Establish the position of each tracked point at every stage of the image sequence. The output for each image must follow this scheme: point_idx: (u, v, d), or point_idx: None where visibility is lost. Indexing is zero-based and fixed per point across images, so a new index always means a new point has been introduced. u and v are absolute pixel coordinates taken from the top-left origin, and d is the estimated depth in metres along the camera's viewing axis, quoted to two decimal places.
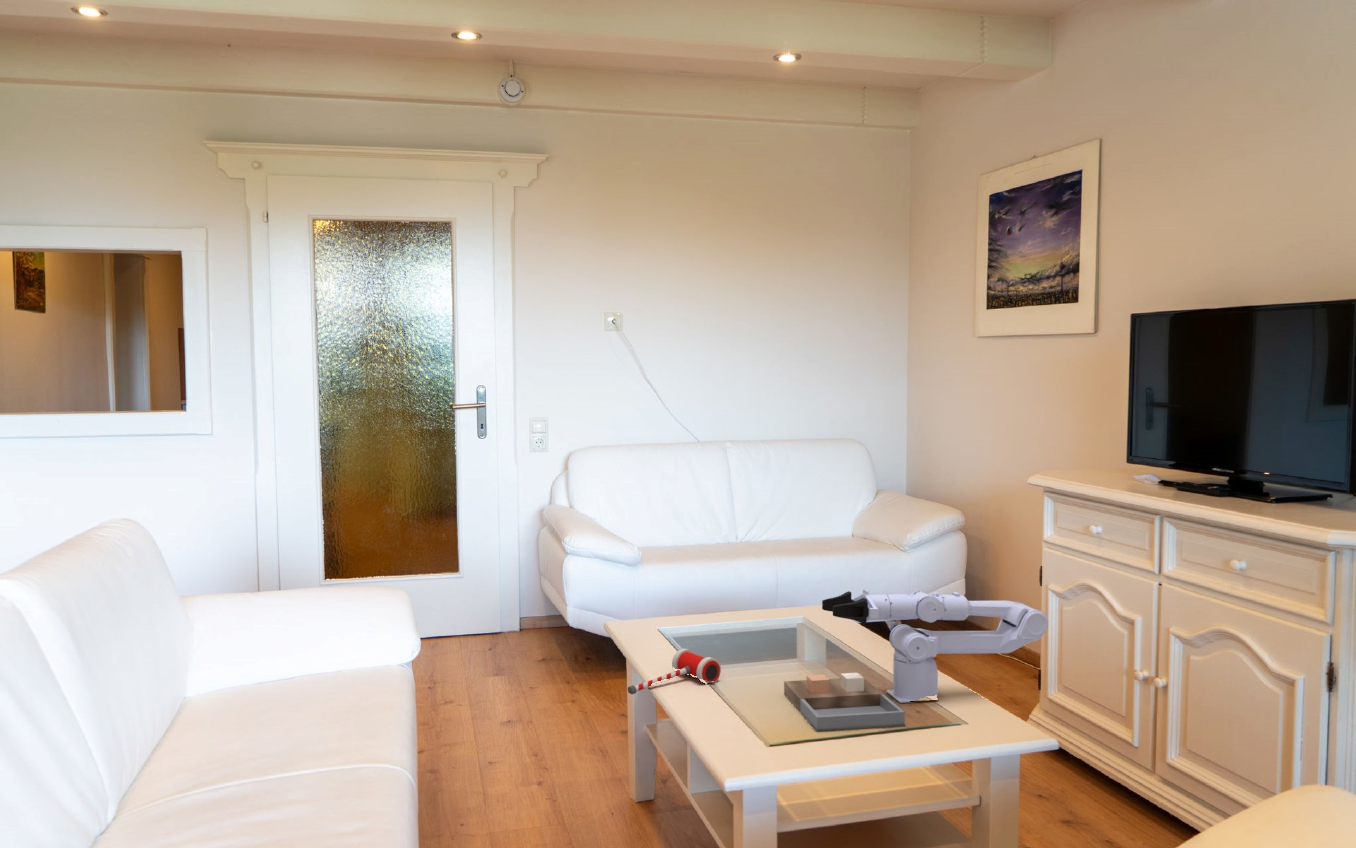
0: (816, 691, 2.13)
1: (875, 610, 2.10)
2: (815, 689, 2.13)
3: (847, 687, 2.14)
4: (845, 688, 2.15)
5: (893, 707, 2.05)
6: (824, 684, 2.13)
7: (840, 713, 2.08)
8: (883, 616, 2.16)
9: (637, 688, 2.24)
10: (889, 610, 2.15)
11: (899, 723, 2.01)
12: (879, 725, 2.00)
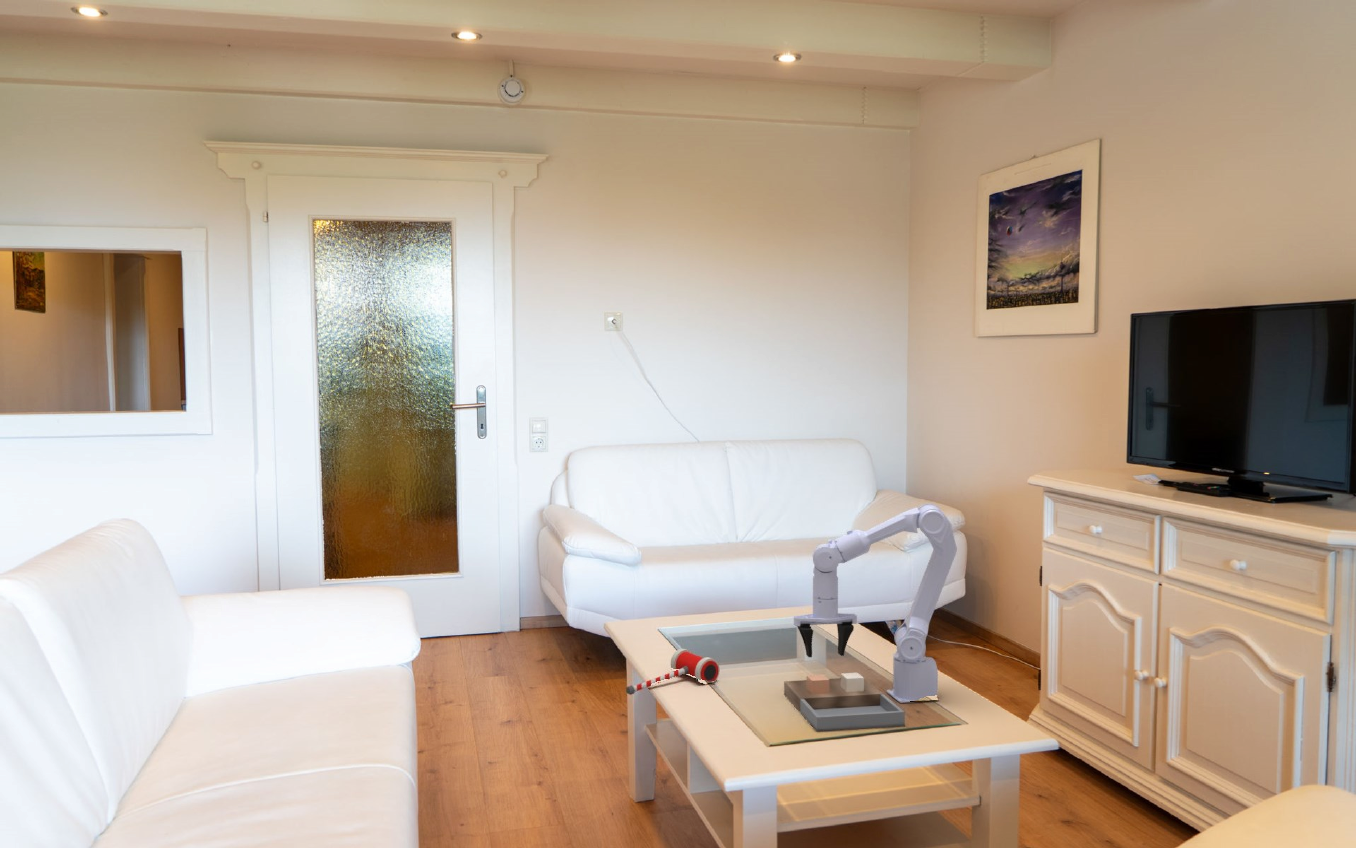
0: (816, 691, 2.13)
1: (794, 619, 2.22)
2: (815, 689, 2.13)
3: (847, 687, 2.14)
4: (845, 688, 2.15)
5: (893, 707, 2.05)
6: (824, 684, 2.13)
7: (840, 713, 2.08)
8: (818, 604, 2.20)
9: (635, 688, 2.23)
10: (814, 598, 2.21)
11: (899, 723, 2.01)
12: (879, 725, 2.00)
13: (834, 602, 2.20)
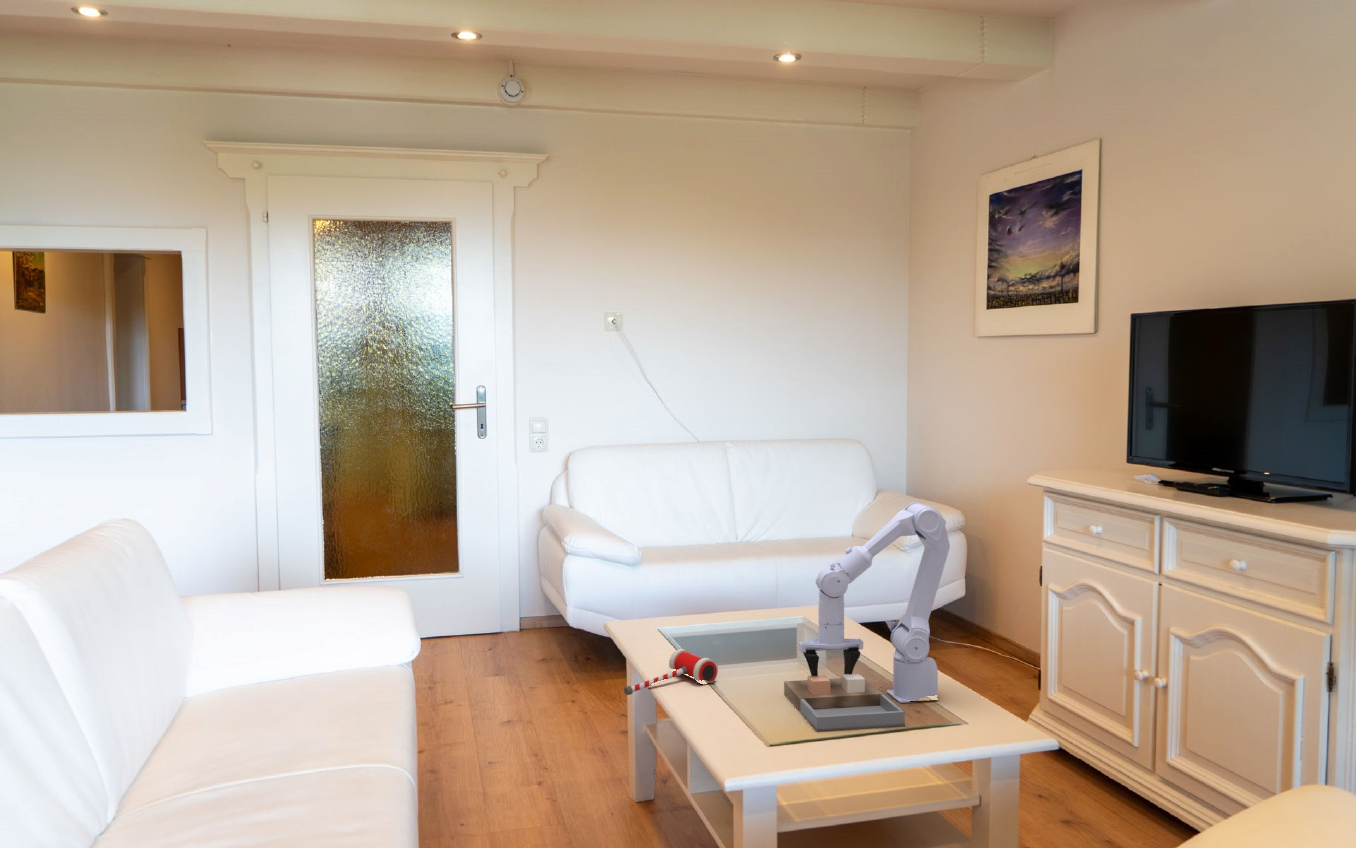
0: (817, 692, 2.12)
1: (799, 645, 2.18)
2: (816, 690, 2.12)
3: (847, 688, 2.13)
4: (846, 689, 2.14)
5: (893, 707, 2.05)
6: (825, 685, 2.12)
7: (840, 713, 2.08)
8: (823, 630, 2.16)
9: (633, 689, 2.23)
10: (819, 623, 2.17)
11: (899, 723, 2.01)
12: (879, 725, 2.00)
13: (840, 628, 2.16)
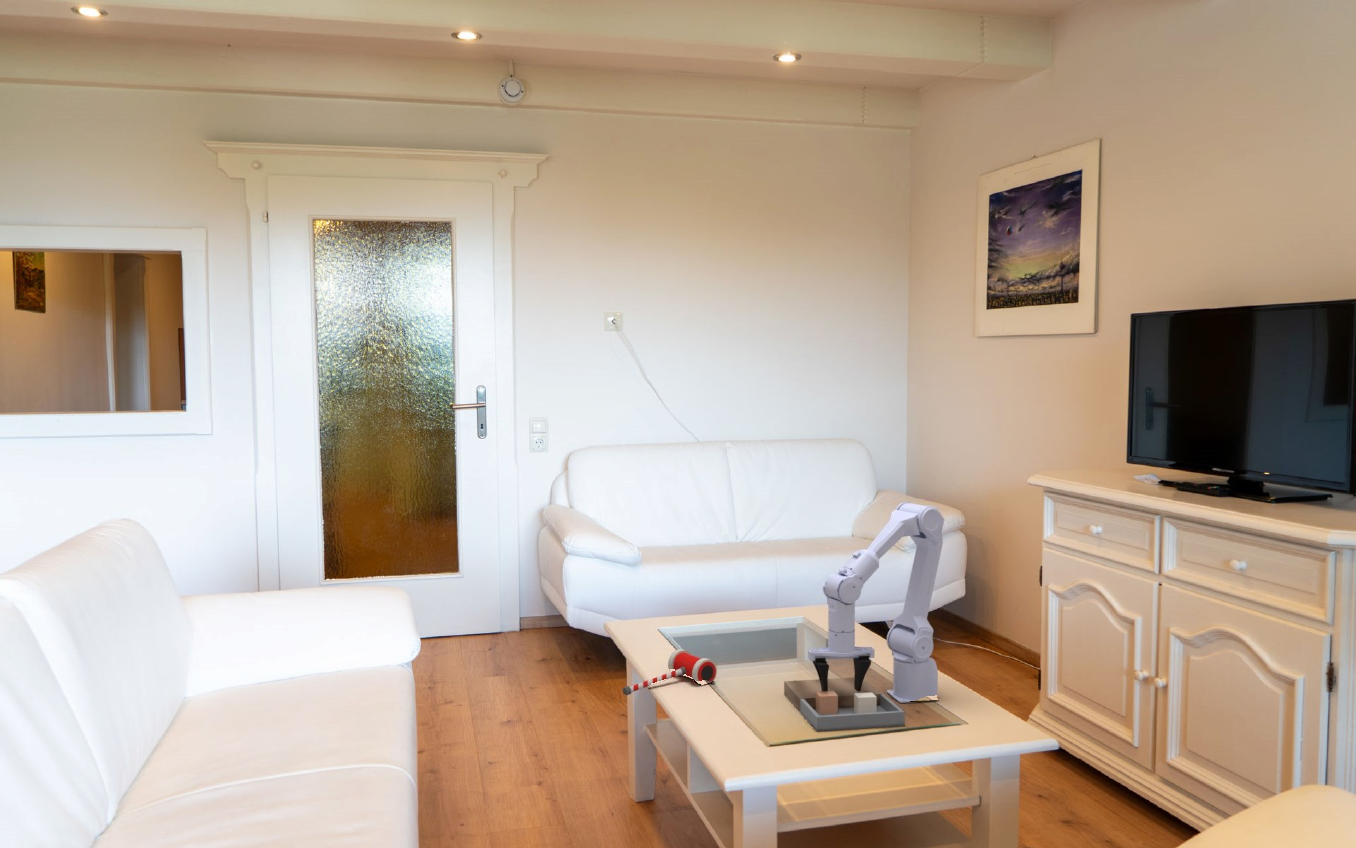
0: None
1: (808, 653, 2.11)
2: None
3: None
4: (854, 708, 2.08)
5: (893, 707, 2.05)
6: None
7: (840, 713, 2.08)
8: (833, 638, 2.09)
9: (632, 689, 2.23)
10: (829, 631, 2.10)
11: (899, 723, 2.01)
12: (879, 725, 2.00)
13: (851, 635, 2.09)
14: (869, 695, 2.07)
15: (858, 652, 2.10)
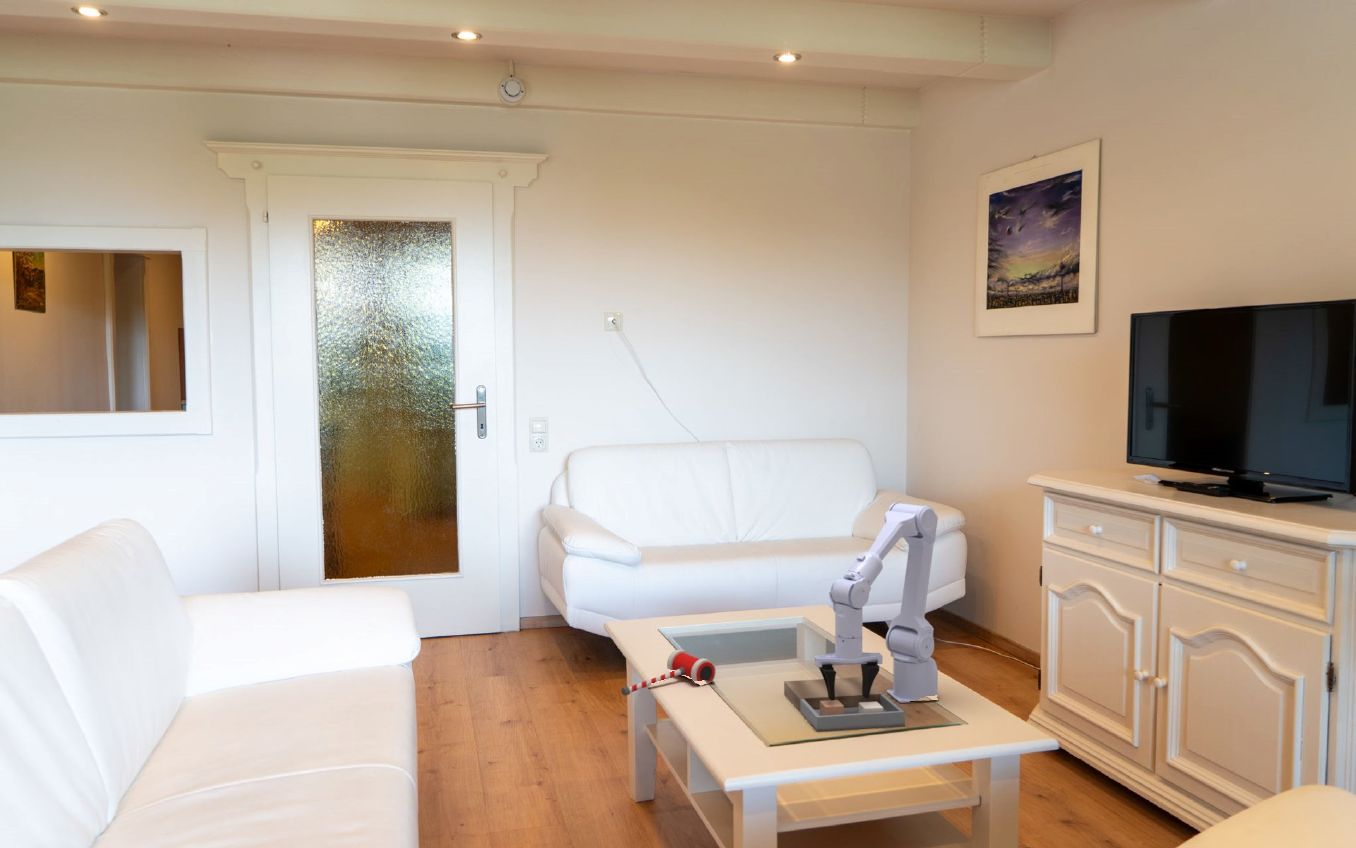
0: None
1: (815, 660, 2.06)
2: None
3: None
4: (859, 706, 2.05)
5: (893, 707, 2.05)
6: None
7: None
8: (841, 644, 2.05)
9: (631, 689, 2.23)
10: (836, 637, 2.06)
11: (899, 723, 2.01)
12: (879, 725, 2.00)
13: (858, 641, 2.04)
14: None
15: (866, 658, 2.05)
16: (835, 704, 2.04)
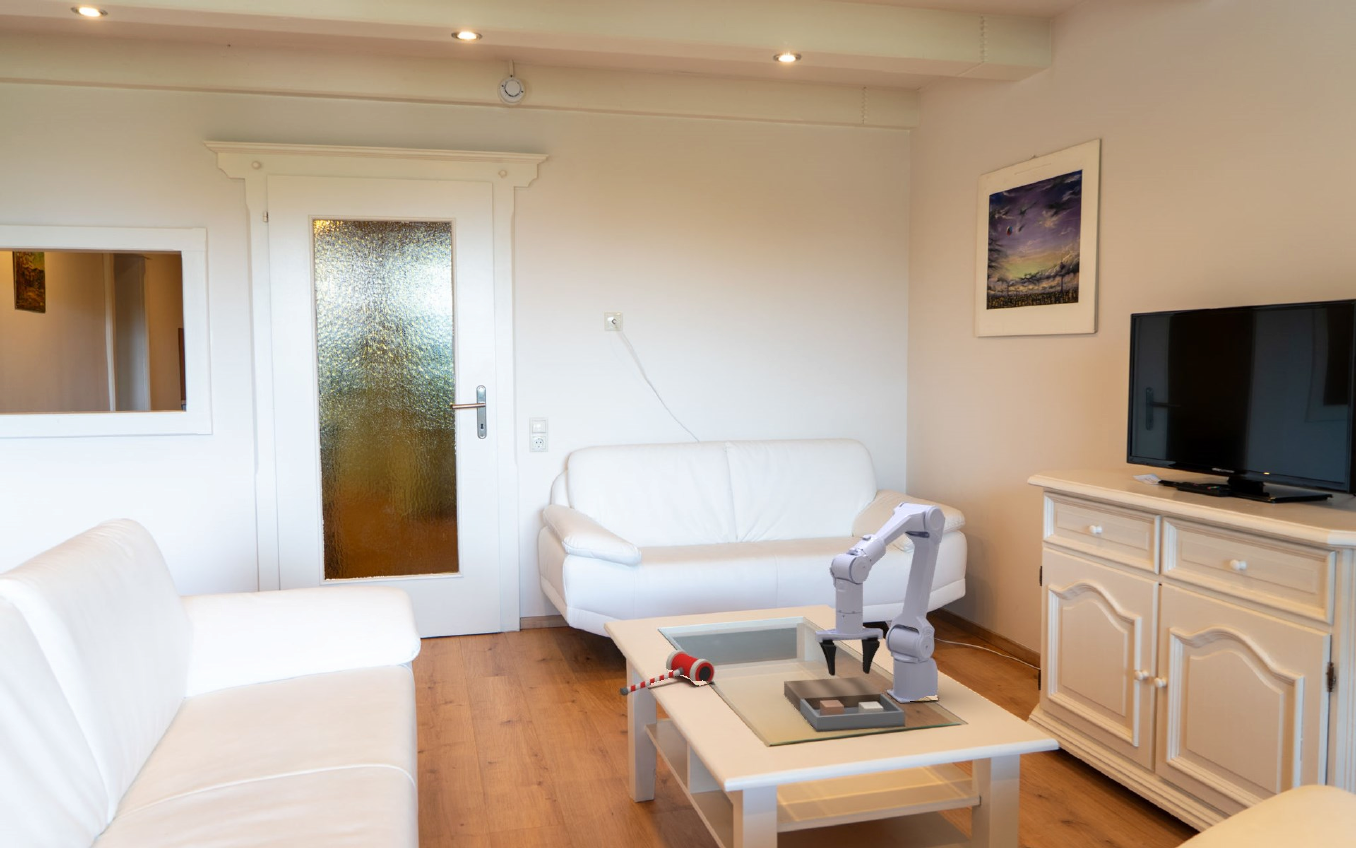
0: None
1: (815, 635, 2.06)
2: None
3: None
4: (859, 706, 2.05)
5: (893, 707, 2.05)
6: None
7: None
8: (841, 619, 2.04)
9: (629, 689, 2.23)
10: (837, 612, 2.05)
11: (899, 723, 2.01)
12: (879, 725, 2.00)
13: (859, 616, 2.04)
14: None
15: (866, 633, 2.05)
16: (835, 704, 2.04)
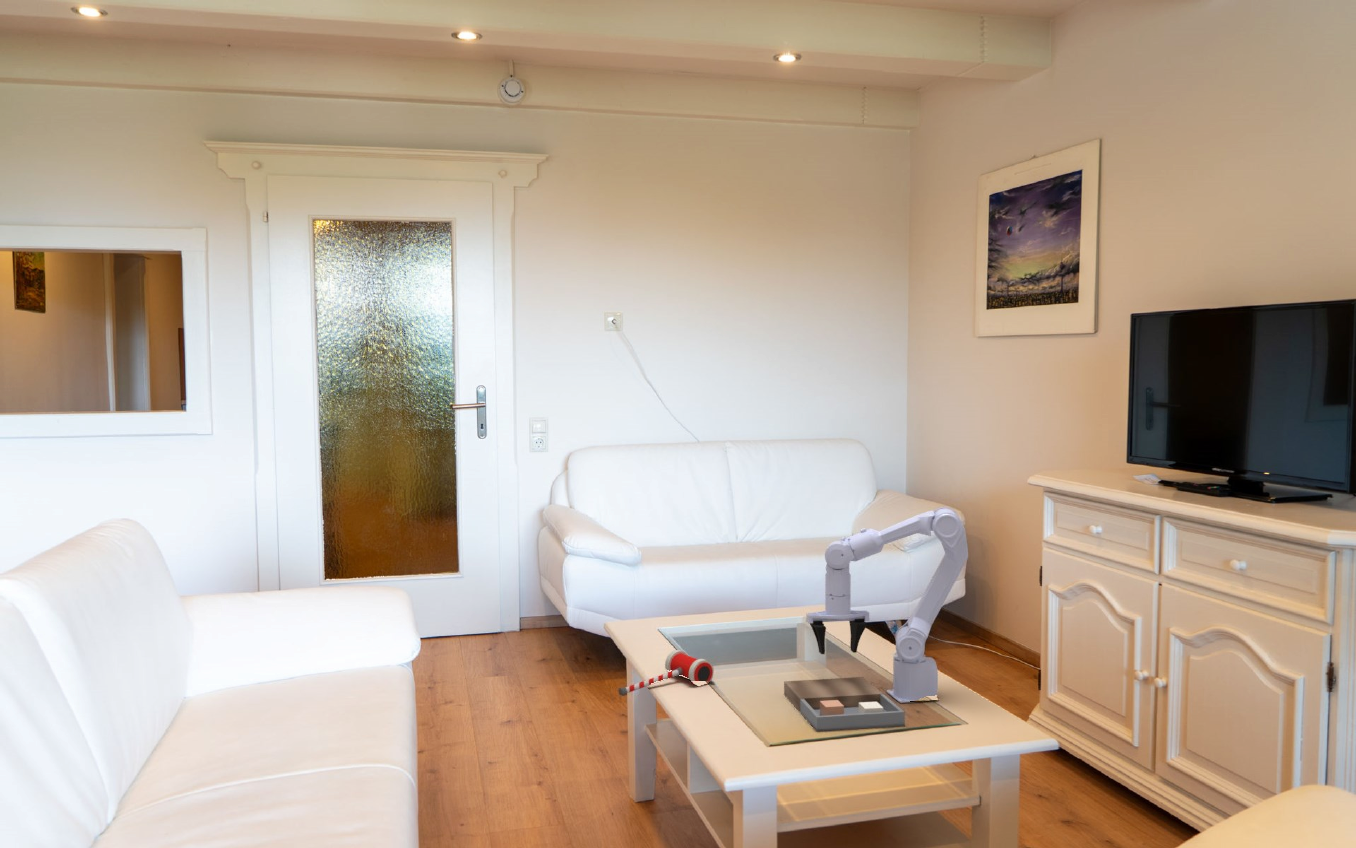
0: None
1: (806, 616, 2.22)
2: None
3: None
4: (859, 706, 2.05)
5: (893, 707, 2.05)
6: None
7: None
8: (830, 602, 2.20)
9: (628, 689, 2.23)
10: (826, 595, 2.22)
11: (899, 723, 2.01)
12: (879, 725, 2.00)
13: (847, 599, 2.20)
14: None
15: (854, 615, 2.21)
16: (835, 704, 2.04)
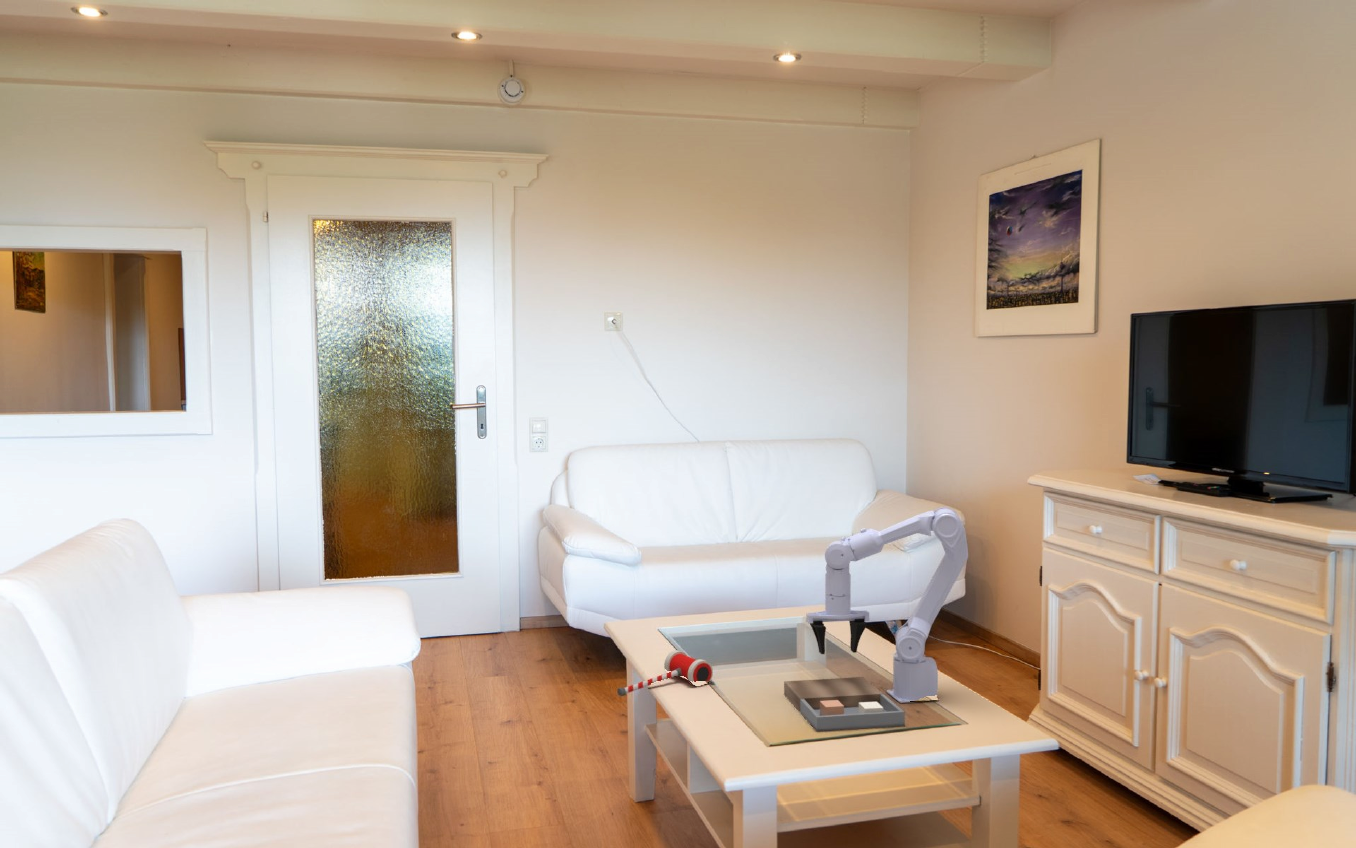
0: None
1: (806, 616, 2.22)
2: None
3: None
4: (859, 706, 2.05)
5: (893, 707, 2.05)
6: None
7: None
8: (830, 602, 2.20)
9: (627, 690, 2.22)
10: (826, 595, 2.22)
11: (899, 723, 2.01)
12: (879, 725, 2.00)
13: (847, 599, 2.20)
14: None
15: (854, 615, 2.21)
16: (835, 704, 2.04)
